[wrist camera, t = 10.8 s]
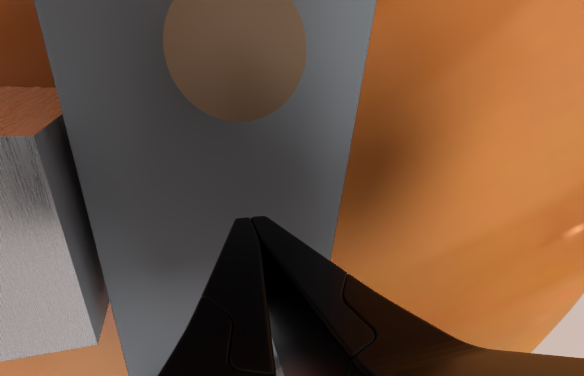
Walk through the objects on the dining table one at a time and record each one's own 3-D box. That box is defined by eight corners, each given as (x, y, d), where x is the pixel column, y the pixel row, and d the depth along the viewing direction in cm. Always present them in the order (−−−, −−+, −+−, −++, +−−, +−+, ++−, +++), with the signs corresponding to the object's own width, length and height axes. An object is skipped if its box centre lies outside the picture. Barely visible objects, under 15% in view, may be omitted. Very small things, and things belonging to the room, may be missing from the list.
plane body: (286, 339, 18) (319, 450, 13) (153, 365, 16) (139, 507, 11) (324, -8, 10) (436, -27, 6) (77, -40, 8) (-63, -107, 4)
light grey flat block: (97, 344, 9) (-9, 362, 8) (125, 242, 13) (54, 249, 12) (33, 136, 6) (-137, 137, 5) (94, 88, 10) (0, 85, 9)
